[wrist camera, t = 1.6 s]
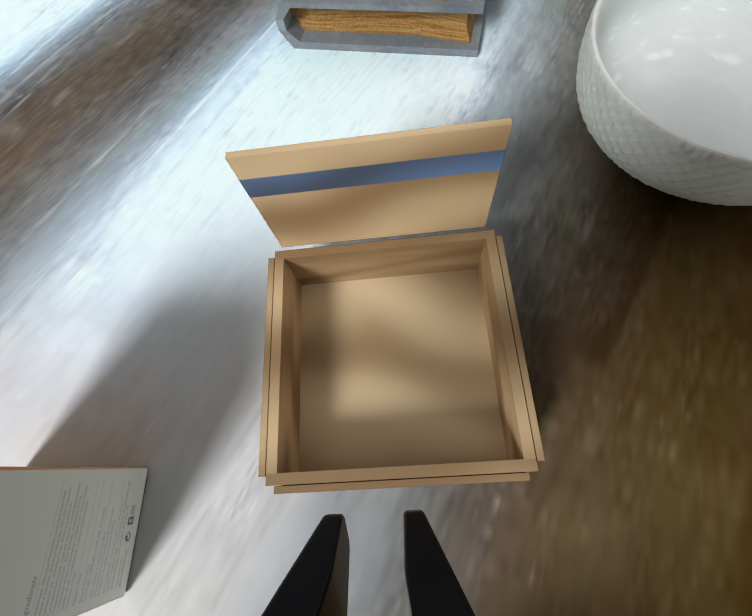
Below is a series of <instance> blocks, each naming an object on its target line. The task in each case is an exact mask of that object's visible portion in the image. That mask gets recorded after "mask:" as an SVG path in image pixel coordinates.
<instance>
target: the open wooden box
mask: <svg viewBox="0 0 752 616" xmlns="http://www.w3.org/2000/svg"><path fill="white" fill-rule="evenodd" d="M537 461H545V459H544V454H543V449H542V443H541V438H540V433H539V428H538V423H537V417H536V412H535V407H534V402H533V396H532V391H531V386H530V381H529V375H528V370H527V365H526V360H525V354H524V349H523V344H522V339H521V334H520V328H519V323H518V318H517V313H516V307H515V302H514V297H513V292H512V286H511V281H510V276H509V271H508V265H507V260H506V255H505V250H504V245H503V239H502V235H500V236H496V237H495V233H494V230H484V231H474V232H465V233H455V234H445V235H435V236H425V237H415V238H405V239H395V240H385V241H375V242H365V243H355V244H345V245H335V246H325V247H315V248H305V249H295V250H286V251H276V252H275V259H274V258H269V265H268V286H267V307H266V328H265V349H264V370H263V391H262V412H261V433H260V454H259V475H258V477H263V476H266V485H265V486H273V485H282V486H275V487H274V494H283V493H302V492H321V491H339V490H358V489H377V488H396V487H415V486H434V485H452V484H471V483H490V482H509V481H528V480H530V476H529V473H526V472H529V471H538V467H537Z"/></svg>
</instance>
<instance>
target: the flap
mask: <svg viewBox="0 0 752 616" xmlns="http://www.w3.org/2000/svg"><path fill="white" fill-rule="evenodd" d="M511 128H512V120H511V118H506V119H498V120H490V121H482V122H473V123H465V124H457V125H448V126H440V127H432V128H424V129H415V130H407V131H399V132H391V133H382V134H374V135H366V136H358V137H349V138H341V139H333V140H325V141H316V142H308V143H300V144H292V145H283V146H275V147H267V148H259V149H250V150H242V151H234V152H226V157H225V159H226V160H227V162H228V163H229V165H230V167H231V168H232V170H233V171H234V173H235V174H236V176H237V177H238V179H239V181H240V183H241V184H242V186H243V187H244V189H245V190H246V192H247V193H248V195H249V197H250V198H251V199H252V201H253V202H254V204H255V206H256V207H257V209H258V210H259V212H260V213H261V215H262V216H263V218H264V220H265V221H266V223H267V224H268V226H269V227H270V229H271V230H272V232H273V234H274V235H275V237H276V238H277V240H278V241H279V243H280V244H281V246H282V247H290V246H300V245H310V244H319V243H329V242H339V241H349V240H359V239H369V238H379V237H389V236H398V235H408V234H418V233H428V232H438V231H448V230H458V229H468V228H477V227H485V225H486V221H487V218H488V214H489V210H490V206H491V203H492V199H493V195H494V191H495V188H496V184H497V180H498V176H499V173H500V170H501V166H502V162H503V158H504V155H505V151H506V146H507V143H508V139H509V135H510V131H511Z"/></svg>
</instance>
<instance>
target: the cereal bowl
mask: <svg viewBox="0 0 752 616" xmlns="http://www.w3.org/2000/svg"><path fill="white" fill-rule="evenodd" d="M576 81H577V86H576V92H577V94H578V98H577V101H578V102H579V105H580V112H581V113H582V116H583V120H584V122H585V123H586V125H587V130H588V131H589V133H590V134H591V135H592V136H593V139H594V140H595V141H596V142H597V144H598V145H599V147H600V148H601V149H602V151H603V152H604V153H606V155H607V156H608V158H610V159H612V160H613V162H614V163H615V164H617V165H618V166H619V168H622V169H623V170H624V171H625V172H627V173H628V174H630V175H631V176H632V177H633V178H636V179H638V180H639V181H641V182H643V183H644V184H645V185H649V186H651V187H653V188H656V189H658V190H660V191H662V192H666V193H667V194H672V195H674V196H677V197H681V198H684V199H688V200H690V201H698V202H703V203H710V204H714V205H726V206H738V205H739V206H744V205H745V206H752V0H597V1H596V4H595V6H594V8H593V10H592V12H591V15H590V19H589V21H588V24H587V26H586V29H585V35H584V37H583V39H582V45H581V48H580V51H579V60H578V64H577V76H576Z"/></svg>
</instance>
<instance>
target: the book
mask: <svg viewBox="0 0 752 616" xmlns="http://www.w3.org/2000/svg"><path fill="white" fill-rule="evenodd" d="M486 1H487V0H281V2H280V6H279V9H278V12H277V16H276V22H277V26H278V29H279V31H280V32H281V33H282V34H283V36H284V37H285V38H286V39H287V40H288V41H289V42H290V44H291V45H292V46H293V47H294V48H299V49H320V50H341V51H361V52H382V53H403V54H423V55H444V56H465V57H477V56H478V50H479V44H480V38H481V32H482V26H483V19H484V13H485V7H486Z"/></svg>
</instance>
